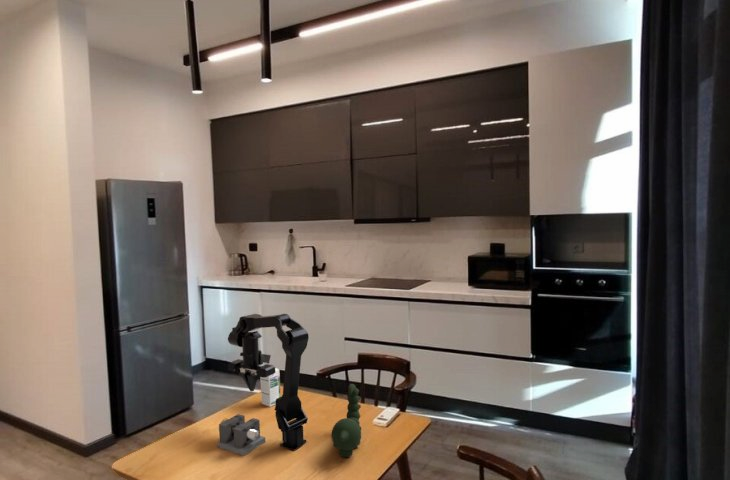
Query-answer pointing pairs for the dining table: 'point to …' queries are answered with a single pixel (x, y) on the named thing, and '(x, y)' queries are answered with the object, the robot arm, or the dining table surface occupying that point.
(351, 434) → the toy figurine
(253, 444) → the bearing bracket
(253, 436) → the shaft
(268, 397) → the syrup box
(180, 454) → the dining table surface
